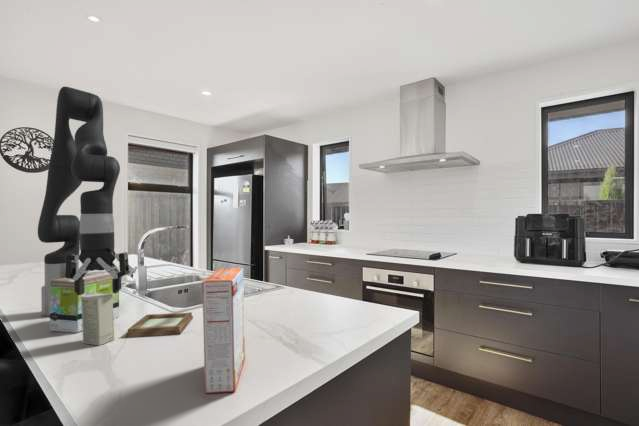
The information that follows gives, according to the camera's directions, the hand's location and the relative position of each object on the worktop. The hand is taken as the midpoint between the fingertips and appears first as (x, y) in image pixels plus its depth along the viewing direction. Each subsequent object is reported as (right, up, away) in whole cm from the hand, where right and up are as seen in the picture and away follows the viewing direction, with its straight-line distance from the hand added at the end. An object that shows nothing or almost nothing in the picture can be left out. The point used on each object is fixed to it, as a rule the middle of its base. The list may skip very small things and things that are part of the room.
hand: (98, 293), depth 87 cm
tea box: (-13, -13, +14) cm, 23 cm away
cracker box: (+39, -12, -19) cm, 45 cm away
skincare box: (0, -13, 0) cm, 13 cm away
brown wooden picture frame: (+12, -12, +11) cm, 20 cm away
